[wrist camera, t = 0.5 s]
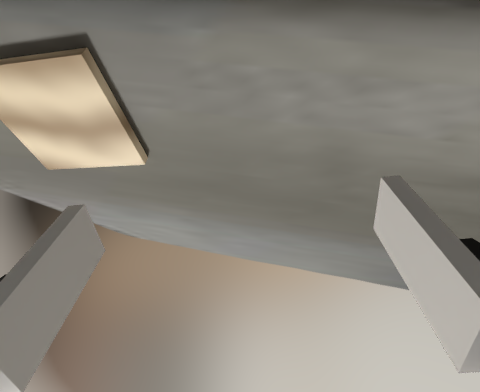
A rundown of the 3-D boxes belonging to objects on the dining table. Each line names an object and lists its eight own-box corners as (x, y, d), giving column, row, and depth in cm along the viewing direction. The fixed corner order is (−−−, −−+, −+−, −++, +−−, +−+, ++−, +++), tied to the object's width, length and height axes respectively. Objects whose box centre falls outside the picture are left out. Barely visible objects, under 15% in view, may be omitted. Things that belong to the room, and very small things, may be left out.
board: (-37, 64, 24) (-46, 71, 23) (87, 47, 22) (81, 54, 21) (52, 162, 32) (48, 169, 32) (147, 157, 30) (145, 164, 30)
